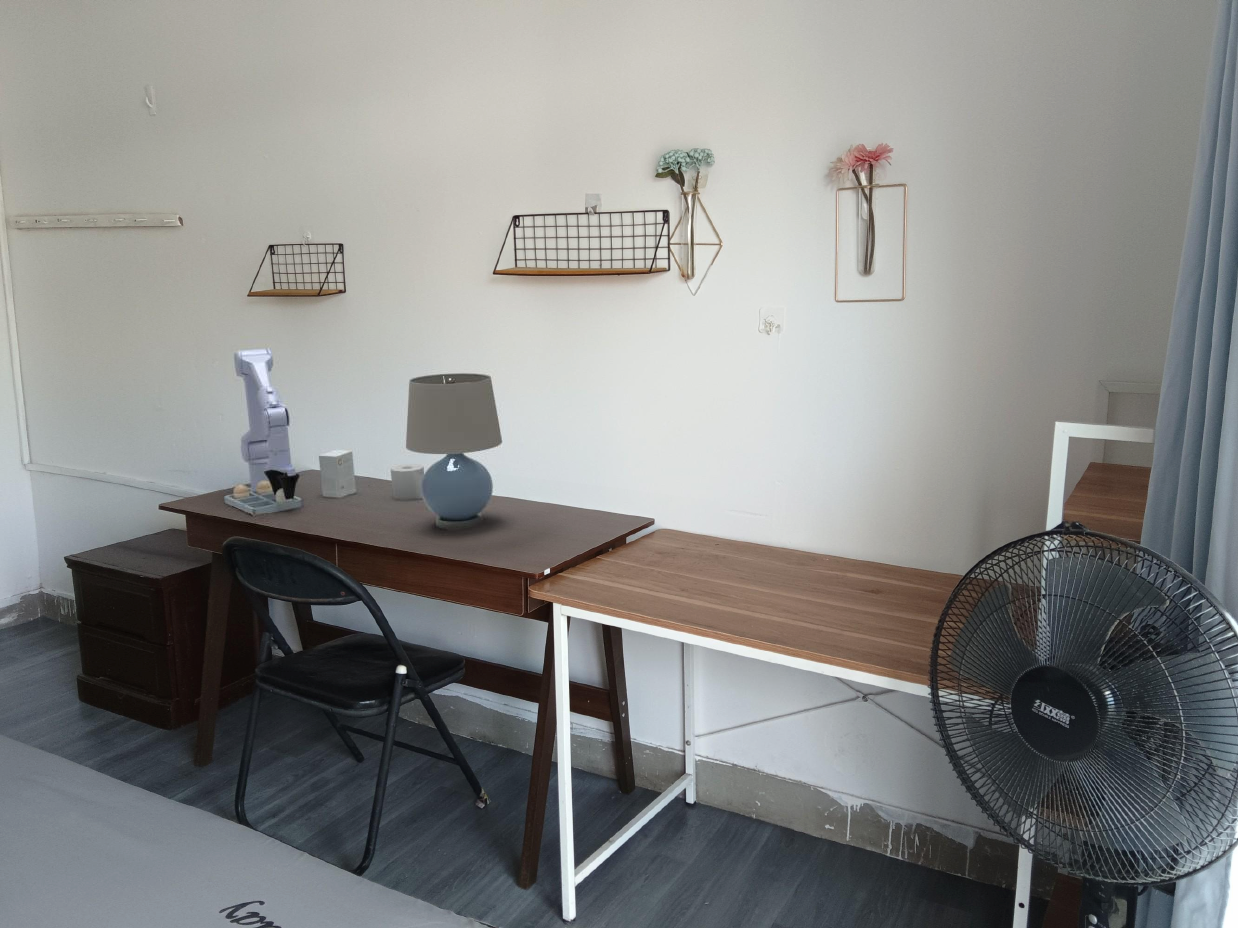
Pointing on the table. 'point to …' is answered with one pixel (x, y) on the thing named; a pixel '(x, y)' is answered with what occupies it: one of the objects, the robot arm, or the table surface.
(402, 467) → the toilet tissue
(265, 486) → the brown egg
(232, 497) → the egg carton
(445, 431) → the lamp
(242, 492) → the brown egg
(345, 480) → the small box
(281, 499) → the cream egg
